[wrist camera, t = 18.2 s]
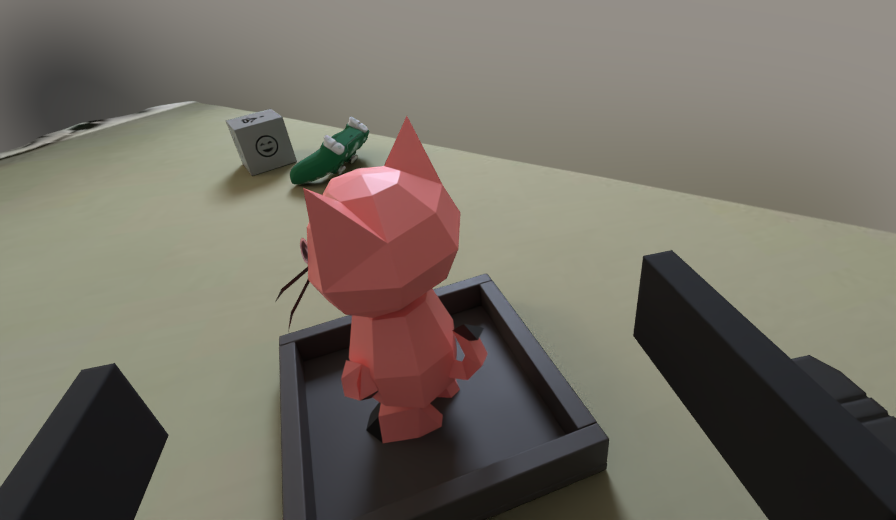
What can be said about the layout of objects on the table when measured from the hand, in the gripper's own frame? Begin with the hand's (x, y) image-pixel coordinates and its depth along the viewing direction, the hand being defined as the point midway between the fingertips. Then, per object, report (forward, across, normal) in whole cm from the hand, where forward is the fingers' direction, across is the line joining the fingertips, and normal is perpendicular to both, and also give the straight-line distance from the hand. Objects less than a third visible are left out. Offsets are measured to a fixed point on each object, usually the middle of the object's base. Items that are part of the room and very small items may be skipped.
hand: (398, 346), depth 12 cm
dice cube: (+44, -14, -9) cm, 47 cm away
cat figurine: (+5, 0, -9) cm, 10 cm away
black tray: (+5, 0, -9) cm, 10 cm away
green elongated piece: (+38, -6, -9) cm, 39 cm away
